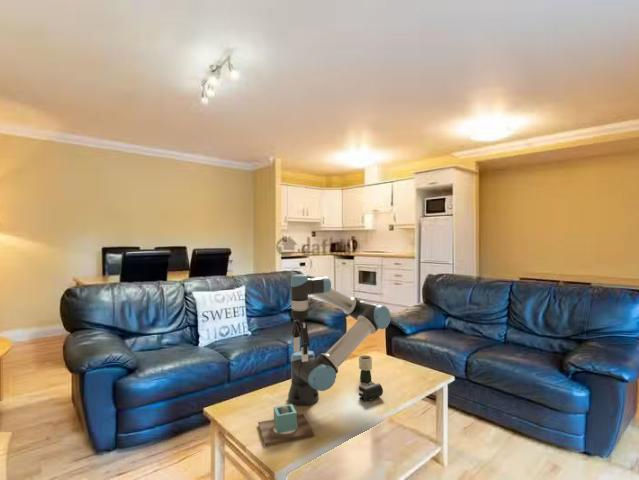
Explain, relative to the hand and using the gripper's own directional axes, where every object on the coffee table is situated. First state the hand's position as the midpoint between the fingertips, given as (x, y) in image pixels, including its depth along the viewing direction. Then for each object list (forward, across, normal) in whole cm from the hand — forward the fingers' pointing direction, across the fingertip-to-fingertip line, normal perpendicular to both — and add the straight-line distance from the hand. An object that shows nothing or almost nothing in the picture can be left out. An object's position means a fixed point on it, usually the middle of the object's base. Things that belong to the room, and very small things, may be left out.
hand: (300, 356), depth 160 cm
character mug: (+27, -23, +43) cm, 56 cm away
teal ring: (+25, +10, -10) cm, 29 cm away
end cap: (+27, -3, +36) cm, 45 cm away
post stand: (+27, +10, -10) cm, 30 cm away
